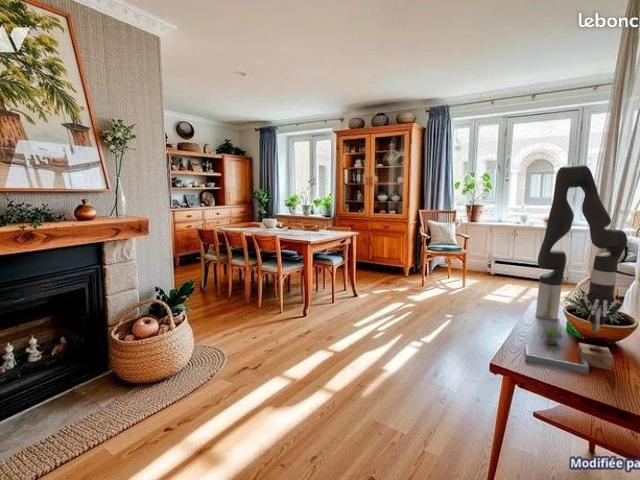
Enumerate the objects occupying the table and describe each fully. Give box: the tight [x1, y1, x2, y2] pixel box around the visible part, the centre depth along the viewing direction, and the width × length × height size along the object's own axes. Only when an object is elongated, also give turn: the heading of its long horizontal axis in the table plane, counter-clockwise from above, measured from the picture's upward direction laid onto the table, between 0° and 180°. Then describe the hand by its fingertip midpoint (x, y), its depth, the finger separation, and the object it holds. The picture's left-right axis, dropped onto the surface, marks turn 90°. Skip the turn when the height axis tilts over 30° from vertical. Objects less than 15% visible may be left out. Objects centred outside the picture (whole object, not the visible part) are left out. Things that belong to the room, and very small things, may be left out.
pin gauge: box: [592, 305, 603, 331], centre depth 139 cm, size 3×3×11 cm
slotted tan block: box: [576, 342, 615, 371], centre depth 133 cm, size 9×9×4 cm
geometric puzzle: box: [540, 327, 563, 347], centre depth 146 cm, size 7×7×8 cm
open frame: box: [524, 343, 590, 375], centre depth 133 cm, size 10×19×2 cm, turn 62°
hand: (596, 323), depth 140 cm, fingers closed on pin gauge, 2 cm apart
